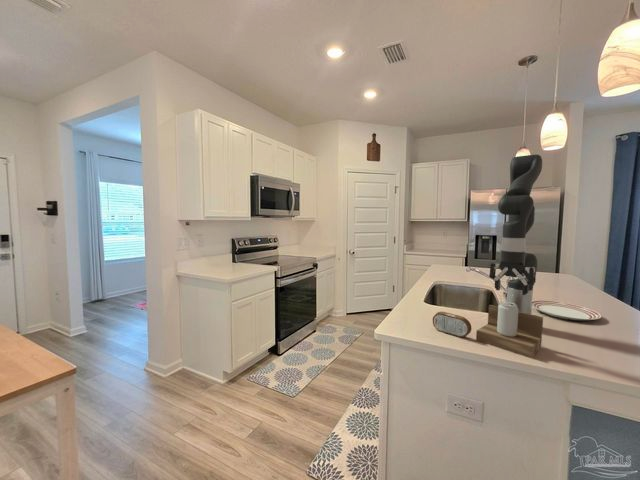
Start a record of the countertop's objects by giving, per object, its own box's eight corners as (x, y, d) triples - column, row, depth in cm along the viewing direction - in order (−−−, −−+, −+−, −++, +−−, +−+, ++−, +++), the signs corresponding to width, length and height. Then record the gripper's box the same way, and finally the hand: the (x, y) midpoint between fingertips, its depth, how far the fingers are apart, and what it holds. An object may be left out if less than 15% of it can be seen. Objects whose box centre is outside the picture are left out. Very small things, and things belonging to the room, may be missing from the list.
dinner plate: (607, 317, 139) (608, 310, 139) (592, 329, 124) (592, 322, 123) (540, 302, 162) (541, 297, 161) (520, 311, 146) (520, 305, 146)
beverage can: (520, 338, 103) (522, 306, 102) (501, 337, 105) (503, 305, 104) (511, 331, 110) (513, 301, 109) (493, 330, 111) (495, 300, 110)
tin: (471, 338, 113) (472, 318, 112) (468, 340, 111) (469, 320, 110) (434, 327, 124) (434, 309, 123) (431, 329, 121) (431, 310, 121)
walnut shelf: (488, 332, 119) (489, 304, 118) (540, 348, 105) (543, 317, 104) (476, 340, 111) (477, 310, 110) (530, 358, 97) (533, 324, 96)
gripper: (539, 250, 101) (536, 294, 102) (495, 247, 112) (493, 287, 113) (533, 252, 96) (530, 298, 98) (488, 248, 107) (486, 290, 109)
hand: (510, 292), depth 105 cm, fingers open, 8 cm apart
